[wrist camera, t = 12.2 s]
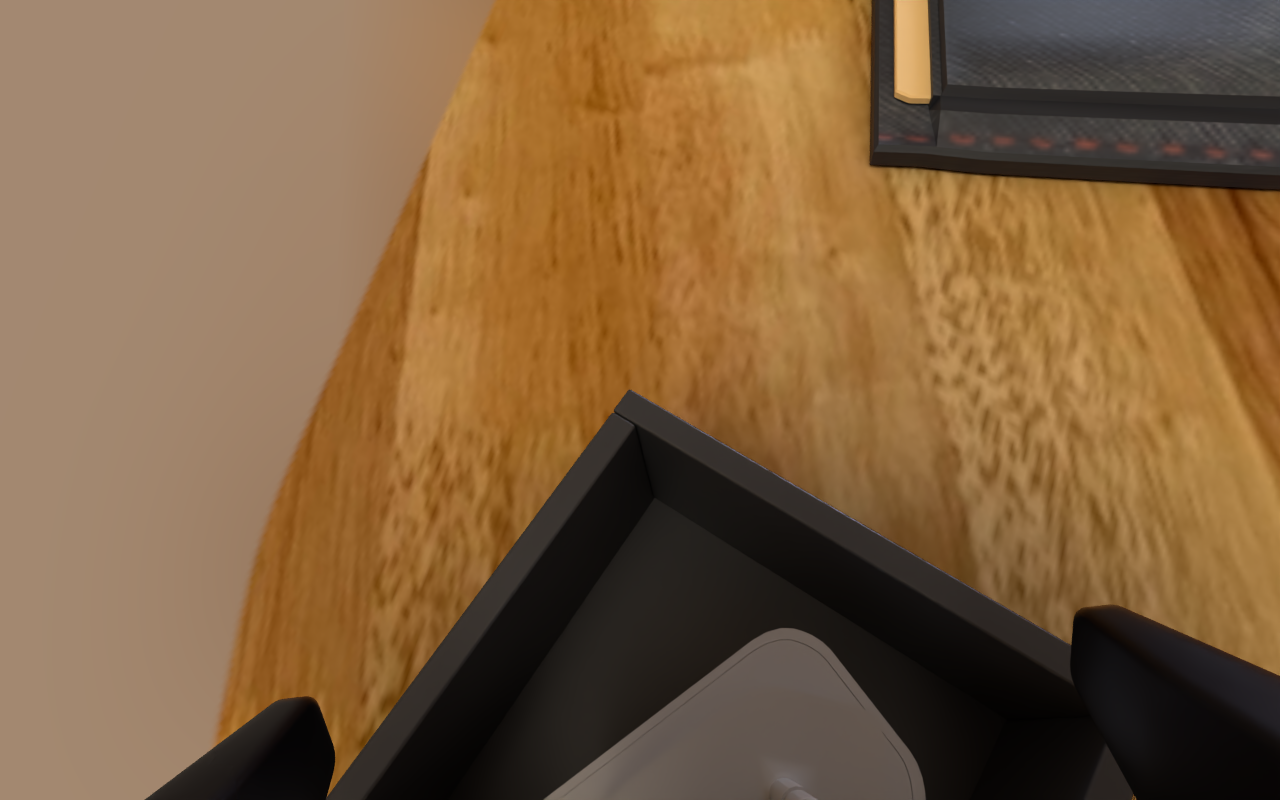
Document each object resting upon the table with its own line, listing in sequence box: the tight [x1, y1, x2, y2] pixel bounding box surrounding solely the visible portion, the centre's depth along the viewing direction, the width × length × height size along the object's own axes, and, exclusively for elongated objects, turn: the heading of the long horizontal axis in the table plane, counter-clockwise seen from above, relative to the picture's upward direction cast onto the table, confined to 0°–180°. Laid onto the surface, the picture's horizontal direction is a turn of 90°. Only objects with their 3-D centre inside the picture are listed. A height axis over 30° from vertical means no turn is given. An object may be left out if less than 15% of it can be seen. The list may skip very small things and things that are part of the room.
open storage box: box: [326, 390, 1133, 800], centre depth 14 cm, size 11×11×6 cm
